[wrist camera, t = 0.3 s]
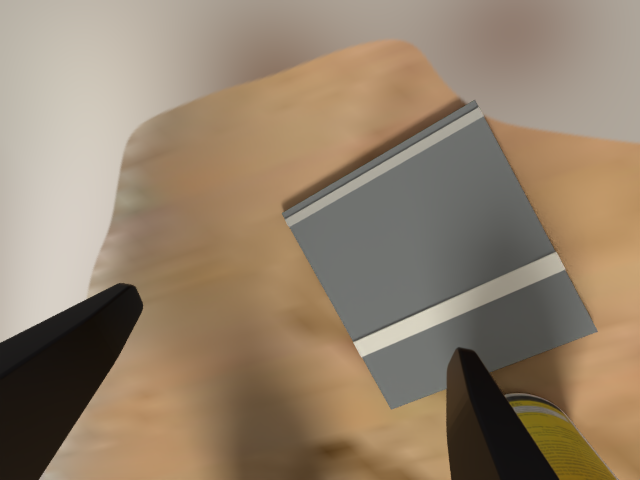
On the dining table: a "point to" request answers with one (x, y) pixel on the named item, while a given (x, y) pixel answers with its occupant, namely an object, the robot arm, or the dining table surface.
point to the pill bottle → (559, 439)
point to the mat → (438, 259)
